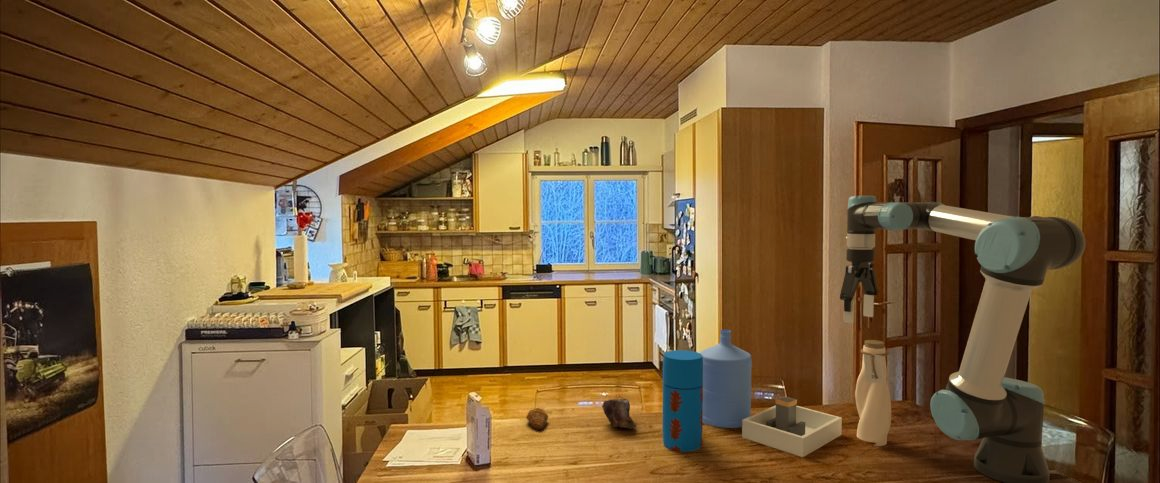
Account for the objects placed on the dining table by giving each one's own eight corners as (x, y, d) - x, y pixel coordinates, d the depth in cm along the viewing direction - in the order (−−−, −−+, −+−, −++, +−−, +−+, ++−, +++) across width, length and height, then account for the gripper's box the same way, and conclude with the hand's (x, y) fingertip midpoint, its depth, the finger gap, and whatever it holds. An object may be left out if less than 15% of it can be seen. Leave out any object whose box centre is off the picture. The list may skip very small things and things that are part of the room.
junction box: (841, 438, 172) (841, 417, 171) (802, 460, 157) (803, 438, 157) (782, 421, 185) (783, 402, 185) (742, 440, 170) (742, 419, 170)
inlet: (805, 434, 172) (805, 422, 172) (791, 441, 167) (791, 429, 167) (779, 426, 178) (780, 415, 178) (765, 433, 173) (765, 421, 172)
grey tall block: (796, 434, 172) (797, 399, 171) (788, 438, 169) (789, 403, 169) (782, 430, 175) (783, 396, 175) (774, 433, 173) (775, 399, 172)
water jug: (761, 428, 180) (762, 334, 178) (713, 433, 176) (714, 338, 174) (734, 410, 195) (735, 324, 193) (689, 415, 191) (690, 327, 189)
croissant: (524, 416, 191) (524, 401, 190) (546, 415, 192) (546, 400, 191) (527, 433, 177) (527, 416, 177) (550, 431, 178) (550, 415, 178)
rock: (633, 423, 188) (601, 422, 188) (634, 394, 188) (601, 394, 188) (637, 431, 176) (602, 430, 176) (637, 401, 177) (603, 400, 177)
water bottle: (895, 450, 163) (899, 347, 161) (859, 447, 165) (862, 346, 163) (884, 435, 173) (887, 339, 171) (850, 433, 175) (853, 337, 173)
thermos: (656, 447, 166) (657, 357, 164) (670, 433, 176) (670, 348, 174) (695, 454, 161) (696, 361, 159) (707, 440, 170) (707, 352, 169)
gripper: (865, 245, 190) (863, 312, 192) (828, 249, 173) (826, 323, 175) (890, 246, 185) (888, 315, 186) (854, 251, 168) (852, 327, 169)
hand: (858, 319), depth 180 cm, fingers open, 13 cm apart
